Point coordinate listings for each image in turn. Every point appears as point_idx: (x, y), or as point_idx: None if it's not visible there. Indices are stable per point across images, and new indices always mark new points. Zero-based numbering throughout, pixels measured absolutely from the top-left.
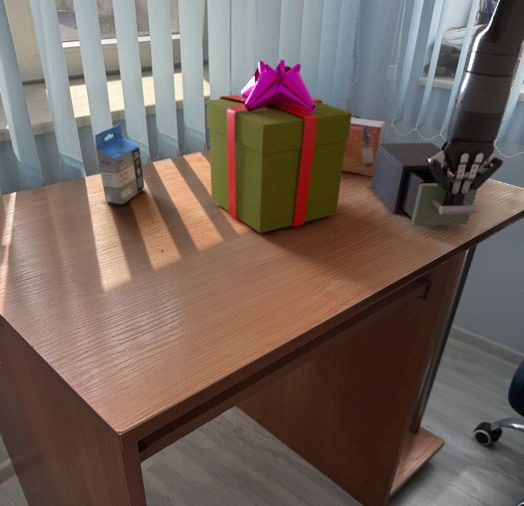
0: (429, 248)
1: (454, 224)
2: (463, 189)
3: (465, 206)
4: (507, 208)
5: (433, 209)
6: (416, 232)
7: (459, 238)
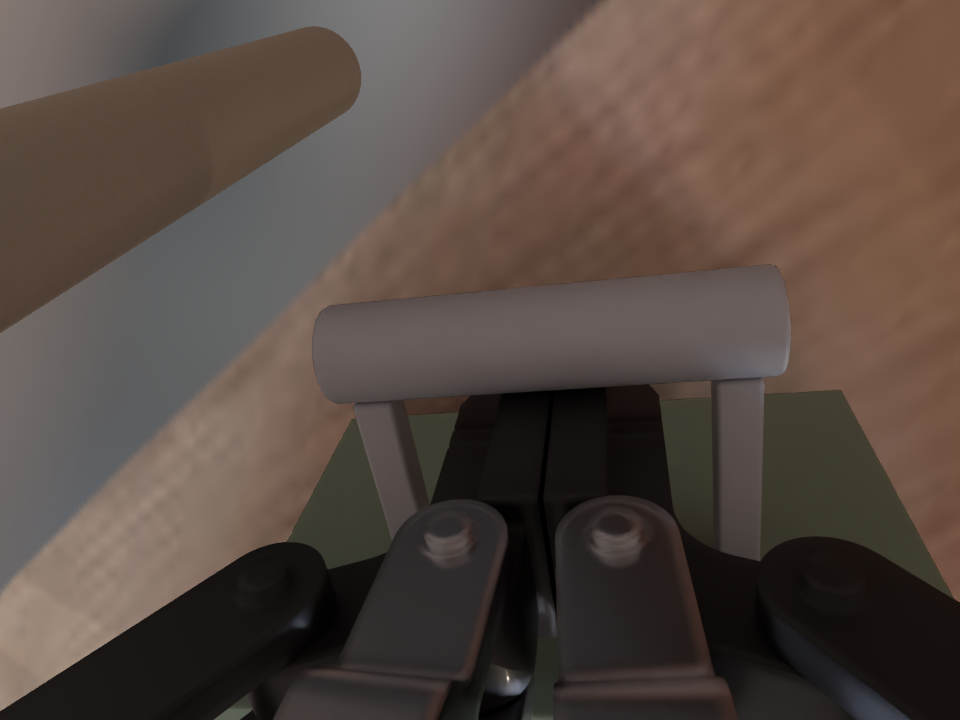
0: (837, 7)
1: (456, 412)
2: (479, 547)
3: (442, 353)
4: (48, 635)
5: (699, 492)
6: (801, 340)
7: (458, 237)
